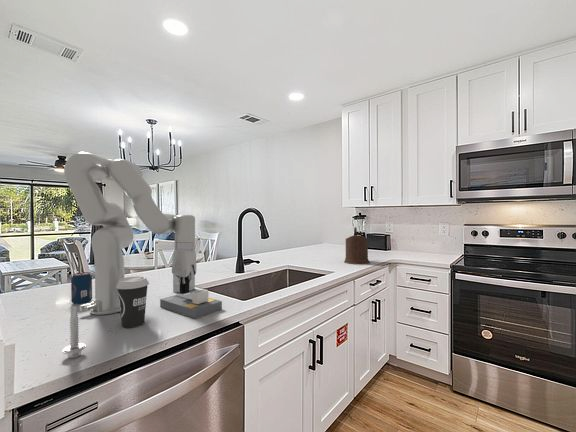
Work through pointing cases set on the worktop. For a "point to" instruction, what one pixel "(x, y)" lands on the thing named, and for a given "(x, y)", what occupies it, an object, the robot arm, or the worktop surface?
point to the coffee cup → (132, 300)
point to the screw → (74, 337)
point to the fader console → (190, 305)
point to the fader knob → (200, 296)
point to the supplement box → (177, 285)
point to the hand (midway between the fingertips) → (184, 292)
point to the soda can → (81, 288)
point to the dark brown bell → (356, 249)
